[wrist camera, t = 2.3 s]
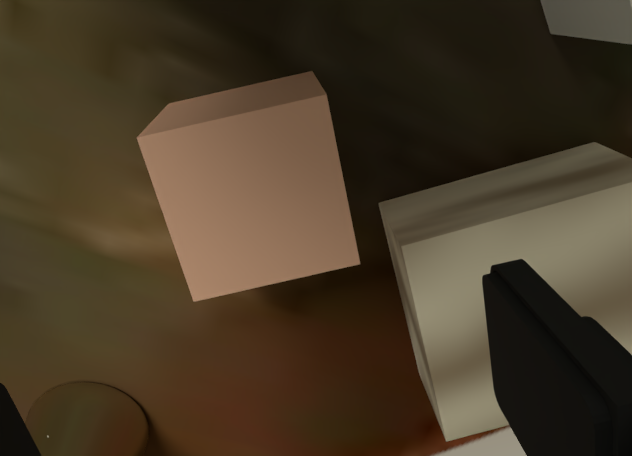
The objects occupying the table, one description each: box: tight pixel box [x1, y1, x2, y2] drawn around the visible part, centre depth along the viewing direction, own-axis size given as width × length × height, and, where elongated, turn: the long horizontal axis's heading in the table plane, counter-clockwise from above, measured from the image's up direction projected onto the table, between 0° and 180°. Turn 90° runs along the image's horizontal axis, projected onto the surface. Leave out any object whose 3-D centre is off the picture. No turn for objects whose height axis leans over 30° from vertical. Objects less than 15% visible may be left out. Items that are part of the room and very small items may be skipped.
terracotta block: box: [137, 71, 360, 302], centre depth 21 cm, size 6×6×6 cm
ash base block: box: [378, 142, 632, 442], centre depth 24 cm, size 10×10×5 cm
